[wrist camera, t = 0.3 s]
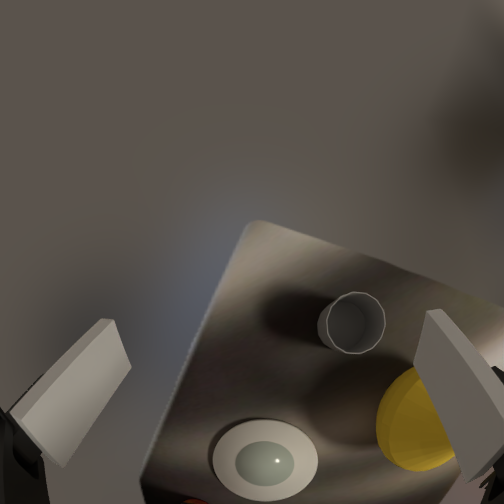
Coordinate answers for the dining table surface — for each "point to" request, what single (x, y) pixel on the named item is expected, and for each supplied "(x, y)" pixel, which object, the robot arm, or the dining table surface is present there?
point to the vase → (411, 426)
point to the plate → (265, 459)
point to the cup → (352, 323)
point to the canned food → (194, 501)
